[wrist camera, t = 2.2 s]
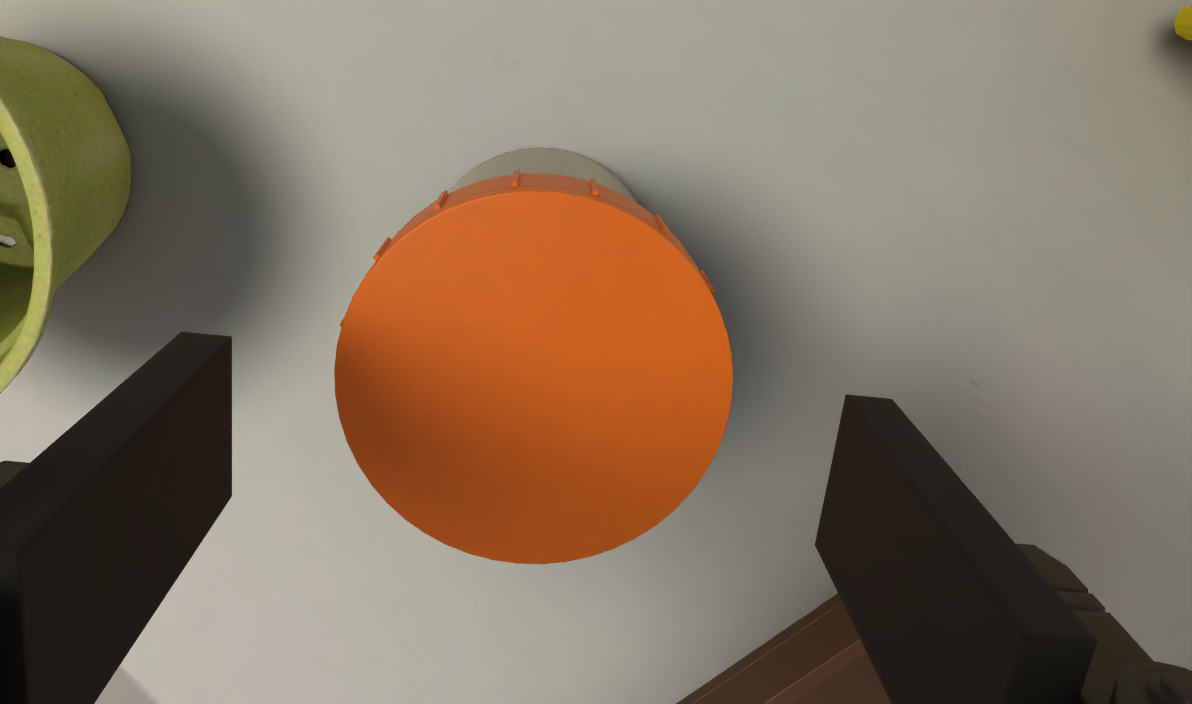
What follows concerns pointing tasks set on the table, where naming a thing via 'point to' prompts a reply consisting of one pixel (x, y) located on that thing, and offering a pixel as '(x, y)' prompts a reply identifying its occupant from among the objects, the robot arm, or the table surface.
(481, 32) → the table surface
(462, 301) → the lid
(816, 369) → the table surface
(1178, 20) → the mug
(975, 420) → the table surface
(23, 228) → the plant pot
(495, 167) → the jar
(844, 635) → the tray
